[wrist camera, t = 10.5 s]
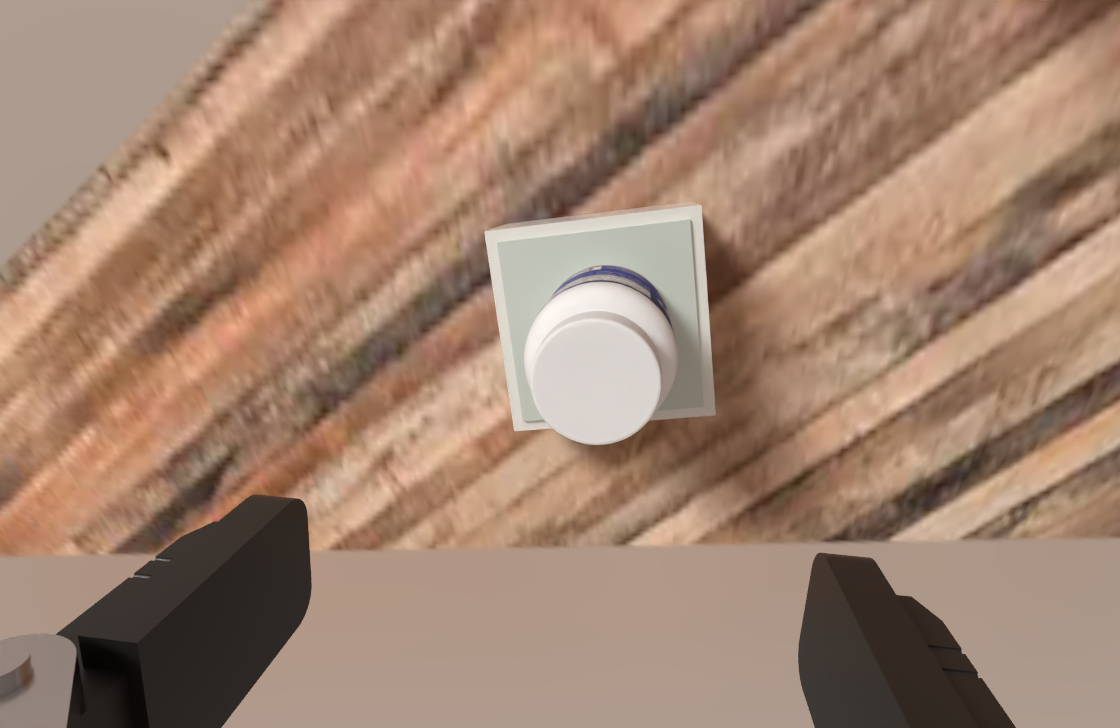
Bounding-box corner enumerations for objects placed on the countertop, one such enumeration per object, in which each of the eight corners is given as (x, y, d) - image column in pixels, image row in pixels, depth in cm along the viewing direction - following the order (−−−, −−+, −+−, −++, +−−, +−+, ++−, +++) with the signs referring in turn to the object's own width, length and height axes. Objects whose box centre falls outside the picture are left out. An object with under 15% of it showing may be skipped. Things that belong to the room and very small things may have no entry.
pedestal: (691, 201, 32) (701, 205, 27) (704, 382, 34) (716, 417, 29) (506, 223, 33) (483, 231, 28) (530, 397, 35) (513, 432, 30)
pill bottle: (661, 390, 29) (672, 477, 20) (542, 377, 29) (503, 458, 21) (676, 267, 27) (695, 306, 19) (550, 256, 28) (512, 289, 19)
